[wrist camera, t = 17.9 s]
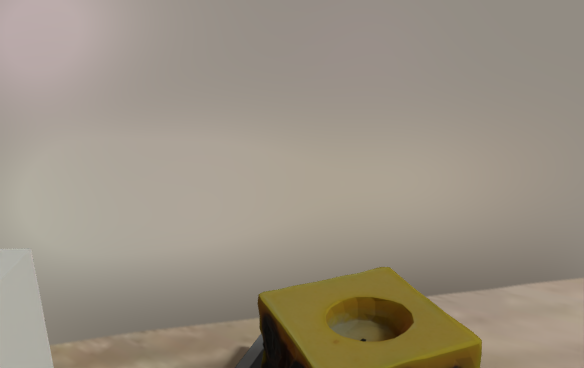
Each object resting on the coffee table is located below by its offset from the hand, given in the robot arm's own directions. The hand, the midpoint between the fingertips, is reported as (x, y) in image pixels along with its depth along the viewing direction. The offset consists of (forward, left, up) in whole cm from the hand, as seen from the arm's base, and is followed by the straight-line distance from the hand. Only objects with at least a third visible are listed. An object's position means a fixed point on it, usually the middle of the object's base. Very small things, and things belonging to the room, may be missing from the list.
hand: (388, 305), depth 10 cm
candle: (-5, +19, -22) cm, 30 cm away
